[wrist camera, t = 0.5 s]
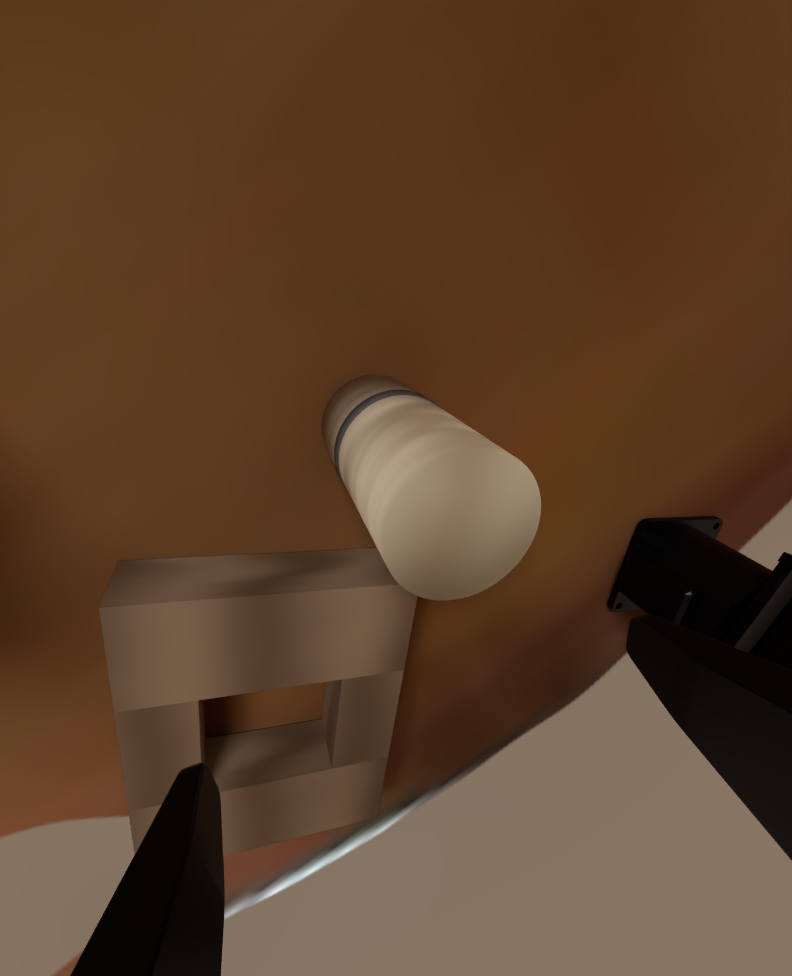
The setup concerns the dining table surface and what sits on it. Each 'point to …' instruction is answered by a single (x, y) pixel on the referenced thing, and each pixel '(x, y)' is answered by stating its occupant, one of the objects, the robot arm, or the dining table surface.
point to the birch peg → (430, 489)
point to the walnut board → (257, 683)
